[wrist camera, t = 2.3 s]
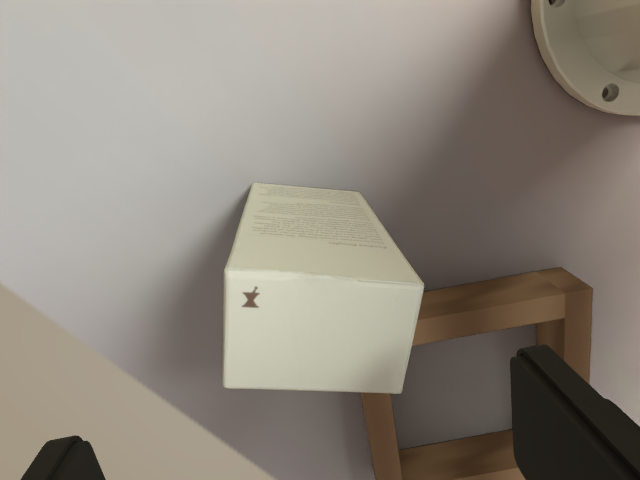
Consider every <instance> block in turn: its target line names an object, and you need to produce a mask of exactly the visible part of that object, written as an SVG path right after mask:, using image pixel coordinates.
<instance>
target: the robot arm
mask: <svg viewBox="0 0 640 480" xmlns="http://www.w3.org/2000/svg"><path fill="white" fill-rule="evenodd" d="M531 14H532V21H533V28H534V35H535V38H536V41H537V44H538V47H539V50H540V53H541V56H542V59H543V60H544V62H545V64H546V66H547V67H548V69H549V71H550V72H551V74H552V76H553V77H554V79H555V80H556V81H557V82H558V83H559V84H560V85H561V86H562V87H563V88H564V89H565V90H566V91H567V93H568V94H570V95H571V96H573V97H574V98H576V99H577V100H579V101H580V102H582V103H583V104H585V105H586V106H589V107H592V108H595V109H597V110H600V111H603V112H606V113H613V114H620V115H634V116H640V0H551V3H550V4H549V1H548V0H531ZM602 92H603V93H602ZM510 371H511V398H512V426H513V451H514V457H515V461H516V463H517V466H518V468H519V470H520V472H521V473H522V475H523V476H524V478H525V479H526V480H640V427H639V426H638V425H637V424H636V423H635V422H634V421H633V420H632V419H630V418H629V417H628V416H627V415H626V414H625V413H624V412H623V411H622V410H621V409H620V408H619V407H618V406H617V405H615V404H614V403H613V402H611V401H610V400H608V399H605V398H603V397H602V396H601V395H600V394H599V393H598V392H596V391H595V390H594V389H593V388H592V387H591V386H590V385H589V384H588V383H587V382H586V381H585V380H584V379H583V378H582V377H581V376H580V375H579V374H578V373H576V372H575V371H574V370H573V369H572V368H571V367H570V366H569V365H568V364H567V363H566V362H565V361H564V360H563V359H562V358H561V357H560V356H559V355H557V354H556V353H555V352H554V351H553V350H552V349H551V348H550V347H549V346H547V345H545V344H542V345H537V346H532V347H526V348H521V349H519V350H518V351H517V356H516V357H512V358H511V360H510ZM21 480H105V477H104V475H103V472H102V470H101V468H100V465H99V463H98V461H97V458H96V456H95V453H94V451H93V449H92V446H91V444H90V443H89V442H88V441H83V440H82V438H80V437H79V436H71V437H65V438H60V439H55V440H50V441H48V442H47V443H46V444H45V445H44V446H43V447H42V449H41V450H40V452H39V453H38V455H37V456H36V458H35V459H34V461H33V462H32V464H31V465H30V467H29V468H28V470H27V471H26V472H25V474H24V475H23V477H22V479H21Z"/></svg>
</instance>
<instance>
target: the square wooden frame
mask: <svg viewBox="0 0 640 480" xmlns="http://www.w3.org/2000/svg"><path fill="white" fill-rule="evenodd" d="M592 297H593V288H592V287H590V286H589V285H587V284H586V283H584V282H583V281H581V280H580V279H578V278H576V277H575V276H573V275H572V274H570V273H569V272H567V271H566V270H564V269H563V268H561V267H558V268H553V269H547V270H542V271H536V272H531V273H525V274H520V275H514V276H509V277H503V278H498V279H492V280H487V281H481V282H476V283H470V284H465V285H459V286H454V287H448V288H443V289H437V290H432V291H427V292H423V295H422V300H421V305H420V310H419V314H418V319H417V324H416V328H415V333H414V338H413V342H412V346H415V345H420V344H425V343H431V342H436V341H442V340H447V339H453V338H458V337H464V336H469V335H474V334H480V333H485V332H491V331H496V330H502V329H507V328H513V327H518V326H524V325H529V324H534V323H536V328H537V345H542V344H545V345H547V346H549V347H550V348H551V349H552V350H553V351H554V352H555V353H556V354H557V355H559V356H560V357H561V358H562V359H563V360H564V361H565V362H566V363H567V364H568V365H569V366H570V367H571V368H572V369H573V370H574V371H575V372H576V373H578V374H579V375H580V376H581V377H582V378H583V379H584V380H585V381H586V382H587V383H588V384H589V377H590V350H591V324H592ZM361 397H362V403H363V409H364V415H365V421H366V427H367V433H368V439H369V445H370V451H371V457H372V463H373V469H374V475H375V479H376V480H526V479H525V478H524V476H523V475H522V473H521V472H520V470H519V468H518V466H517V463H516V461H515V457H514V451H513V429H512V430H506V431H501V432H496V433H490V434H485V435H479V436H474V437H469V438H463V439H458V440H453V441H447V442H442V443H436V444H431V445H426V446H420V447H415V448H409V449H404V450H399V451H398V445H397V438H396V431H395V424H394V417H393V410H392V402H391V395H390V393H366V392H361Z"/></svg>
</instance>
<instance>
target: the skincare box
mask: <svg viewBox="0 0 640 480" xmlns="http://www.w3.org/2000/svg"><path fill="white" fill-rule="evenodd" d="M423 290H424V283H423V282H422V280H421V279H420V278H419V276H418V275H417V274H416V272H415V271H414V270H413V268H412V267H411V265H410V264H409V262H408V261H407V260H406V258H405V257H404V255H403V254H402V252H401V251H400V250H399V248H398V247H397V245H396V244H395V242H394V241H393V239H392V238H391V237H390V235H389V234H388V232H387V231H386V229H385V228H384V226H383V225H382V223H381V222H380V221H379V219H378V218H377V216H376V215H375V213H374V212H373V210H372V209H371V207H370V206H369V204H368V203H367V202H366V200H365V199H364V197H363V196H362V194H361V193H360V192H355V191H344V190H333V189H321V188H311V187H298V186H287V185H275V184H263V183H253V184H252V186H251V189H250V192H249V195H248V198H247V202H246V205H245V207H244V210H243V214H242V217H241V220H240V223H239V227H238V230H237V233H236V236H235V240H234V243H233V246H232V250H231V253H230V255H229V258H228V261H227V264H226V266H225V269H224V304H223V363H222V384H223V387H224V388H229V389H268V390H300V391H336V392H366V393H391V394H400V393H402V390H403V384H404V379H405V375H406V370H407V366H408V361H409V356H410V352H411V347H412V342H413V338H414V333H415V328H416V324H417V319H418V314H419V310H420V305H421V300H422V295H423Z"/></svg>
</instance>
